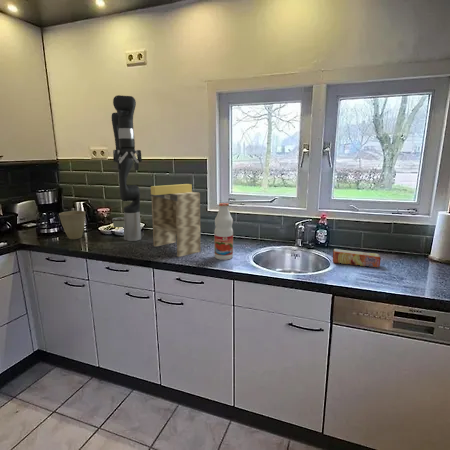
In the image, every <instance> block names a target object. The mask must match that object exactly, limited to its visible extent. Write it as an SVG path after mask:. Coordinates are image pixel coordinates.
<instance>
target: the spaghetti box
mask: <svg viewBox="0 0 450 450" xmlns="http://www.w3.org/2000/svg"><path fill="white" fill-rule="evenodd" d="M192 185H193V184H191V183H183V184H182V183H180V184H179V183H178V184H166V185H151V186H150V190H151V194H152V195H163V194H174V193H186V192H193V189H192V188H193V186H192Z"/></svg>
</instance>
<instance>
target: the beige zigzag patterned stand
mask: <svg viewBox="0 0 450 450" xmlns="http://www.w3.org/2000/svg"><path fill="white" fill-rule="evenodd" d="M149 192H150V193H149V194H150V195H149V196H150V197H151V199H150V200H151V219H152V240H153V241H152V242H153V244H152V245H153V247H160V246H164V245H165V246H166V245H169V244H173V243H176V256H177V257H185V256H189V255H192V254H196V253H197V254H198V253H201V247H202V245H201V243H202V241H201V193H200V192H198V191H197V192H196V191H192V192H186V193H174V194H163V195H152V194H151V189H150V190H149Z"/></svg>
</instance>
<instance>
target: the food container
mask: <svg viewBox="0 0 450 450" xmlns="http://www.w3.org/2000/svg"><path fill="white" fill-rule="evenodd" d="M111 222H112V226H113V228H114V227H123V225H124V224H125V221H124V216H121V217H120V216H119V217H113V218H112V220H111Z"/></svg>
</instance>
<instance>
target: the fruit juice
mask: <svg viewBox="0 0 450 450" xmlns="http://www.w3.org/2000/svg"><path fill="white" fill-rule="evenodd" d="M218 207H219V209H218V212H217V215H216V216H215V218H214V224H215V228H214V254H213V255H214V258H215V259H217V260H220V261H225V260H226V261H228V260H230V259H232V258H233V256H234V253H233V252H234V229H233V222H234V219H233V217H232V215H231V213H230V210H229V207H230V203H228V202H219V203H218Z"/></svg>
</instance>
